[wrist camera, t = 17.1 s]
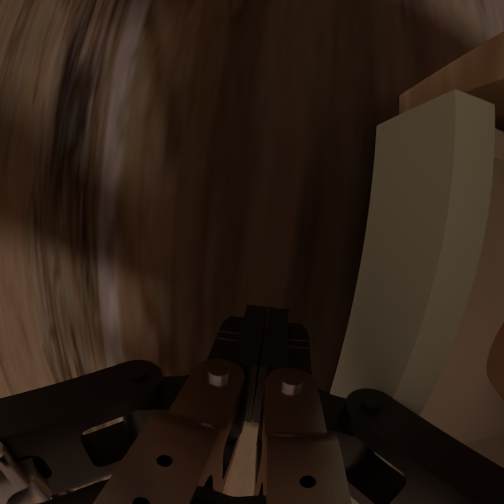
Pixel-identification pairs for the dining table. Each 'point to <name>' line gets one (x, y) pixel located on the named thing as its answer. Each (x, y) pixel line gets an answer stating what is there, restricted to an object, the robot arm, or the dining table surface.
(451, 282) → the tray
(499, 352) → the canister
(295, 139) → the dining table surface
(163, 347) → the dining table surface
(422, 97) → the housing
